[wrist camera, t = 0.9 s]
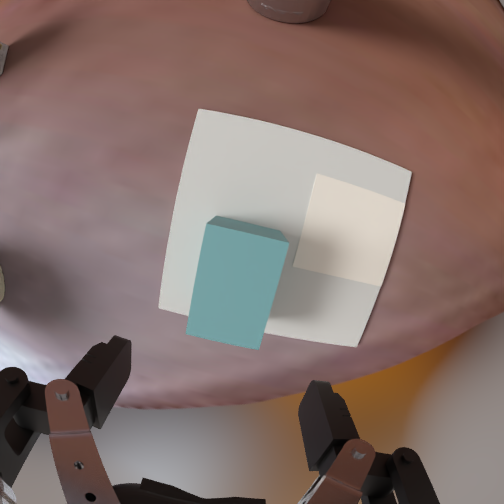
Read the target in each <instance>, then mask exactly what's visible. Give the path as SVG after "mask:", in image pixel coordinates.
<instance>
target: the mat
mask: <svg viewBox="0 0 504 504" xmlns="http://www.w3.org/2000/svg"><path fill="white" fill-rule="evenodd" d="M411 173H412V172H411V171H409V170H406V169H404V168H402V167H400V166H397V165H395V164H393V163H390V162H388V161H385V160H383V159H381V158H378V157H376V156H373V155H370V154H368V153H365V152H363V151H360V150H357V149H354V148H352V147H349V146H346V145H343V144H340V143H337V142H334V141H331V140H328V139H325V138H322V137H319V136H315V135H312V134H309V133H305V132H302V131H299V130H295V129H291V128H288V127H284V126H280V125H276V124H272V123H268V122H264V121H260V120H255V119H251V118H246V117H242V116H237V115H232V114H227V113H221V112H216V111H210V110H204V109H198V113H197V116H196V120H195V123H194V127H193V131H192V134H191V138H190V142H189V146H188V150H187V154H186V158H185V162H184V166H183V170H182V175H181V179H180V184H179V188H178V193H177V198H176V202H175V207H174V212H173V217H172V223H171V228H170V233H169V239H168V245H167V251H166V257H165V263H164V270H163V277H162V284H161V291H160V299H159V307H158V308H160V309H164V310H168V311H171V312H175V313H179V314H183V315H187V316H189V311H190V305H191V299H192V293H193V288H194V282H195V277H196V272H197V267H198V261H199V256H200V251H201V246H202V241H203V237H204V232H205V227H206V223H207V222H209V221H210V220H211V219H212V218H214V217H215V216H220V217H225V218H229V219H233V220H238V221H242V222H246V223H250V224H255V225H259V226H263V227H267V228H271V229H275V230H279V231H281V233H282V234H283V235H284V236H285V238H286V239H287V240H288V242H289V246H288V250H287V254H286V257H285V261H284V265H283V268H282V272H281V275H280V279H279V283H278V286H277V290H276V293H275V297H274V300H273V304H272V307H271V310H270V314H269V317H268V321H267V324H266V327H265V331H264V333H268V334H274V335H279V336H285V337H290V338H296V339H302V340H309V341H315V342H322V343H329V344H336V345H343V346H351V347H357V345H358V343H359V340H360V338H361V336H362V333H363V331H364V329H365V326H366V324H367V321H368V319H369V316H370V314H371V311H372V309H373V306H374V303H375V301H376V298H377V295H378V293H379V290H380V287H381V286H382V283H383V280H384V277H385V274H386V271H387V268H388V265H389V262H390V258H391V255H392V252H393V249H394V245H395V242H396V238H397V235H398V231H399V228H400V224H401V220H402V216H403V212H404V208H405V202H406V197H407V193H408V188H409V183H410V178H411Z"/></svg>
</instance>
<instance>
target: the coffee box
mask: <svg viewBox="0 0 504 504" xmlns="http://www.w3.org/2000/svg"><path fill="white" fill-rule="evenodd" d="M8 47H9V46H8V45H6V44H4V43H1V42H0V75H1V74H2V72H3V68H4V63H5V59H6V55H7V51H8Z"/></svg>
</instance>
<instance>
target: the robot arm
mask: <svg viewBox="0 0 504 504" xmlns="http://www.w3.org/2000/svg"><path fill="white" fill-rule="evenodd" d="M247 1H248V3H249V4H250V6H251V7H252V8H253V9H254V10H255V11H257V12H258V13H260V14H261V15H263V16H265V17H268V18H270V19H273V20H277V21H281V22H287V23H303V22H309V21H312V20H315V19H317V18H319V17H320V16H322V15H323V14H324V13H325V11H326V9H327V7H328V5H329V3H330V1H331V0H247ZM130 371H131V341H130V340H127V339H124V338H121V337H119V336H116V335H115V336H113V337H112V339H111V340H110V341H109V342H108V343H107V344H105V343H103V342H101V343H99V344H97V345H95V346H93V347H92V348H91V349H90V350H89V351H88V352H87V354H86V355H85V356H84V357H83V358H82V360H80V362H79V363H78V364H77V365H76V366H75V367H74V369H73V370H72V371H71V372H70V373H69V375H68V376H67V377H66V378H65V379H56V380H53V381H51V382H49V383H48V384H47V385H43V384H39V383H35V382H31V381H28V378H27V375H26V373H25V372H24V371H23V370H21V369H19V368H17V367H8V368H5V369H3V370H2V371H0V504H16V496H15V494H14V492H13V490H12V489H11V487H12V485H13V483H14V481H15V479H16V477H17V475H18V473H19V472H20V470H21V468H22V466H23V464H24V462H25V460H26V458H27V457H28V455H29V453H30V451H31V449H32V447H33V446H34V444H35V442H36V440H37V439H38V437H39V435H40V434H41V433H43V434H47V435H49V439H50V444H51V449H52V453H53V458H54V461H55V466H56V469H57V473H58V476H59V479H60V483H61V486H62V490H63V492H64V495H65V498H66V501H67V504H266V501H265V499H254V498H242V497H229V498H212V499H204V498H200V497H198V496H195V495H193V494H190V493H187V492H185V491H183V490H181V489H178V488H176V487H174V486H171V485H167V484H164V483H160V482H156V481H153V480H149V479H146V478H143V479H142V482H141V484H137V483H126V484H118V485H114V486H112V485H111V483H110V480H109V478H108V476H107V473H106V471H105V469H104V466H103V464H102V461H101V458H100V456H99V453H98V451H97V448H96V445H95V442H94V439H93V436H92V433H91V431H90V429H91V428H92V426H94V427H96V428H98V429H101V428H102V426H103V424H104V422H105V420H106V418H107V416H108V414H109V413H110V411H111V409H112V407H113V405H114V404H115V402H116V400H117V398H118V396H119V395H120V393H121V391H122V389H123V388H124V386H125V384H126V382H127V380H128V378H129V375H130ZM298 416H299V421H300V426H301V431H302V436H303V442H304V447H305V452H306V457H307V462H308V467H309V471H319V477H318V478H317V479H316V480H315V482H314V483H313V485H312V486H311V487H310V488H309V490H308V491H307V492H306V494H305V495H304V496H303V497H302V499H301V500H300V501H299V503H298V504H358V502H359V500H360V498H361V500H362V504H397V502H396V499H395V496H394V493H393V490H395V493H396V496H397V499H398V502H399V504H440V503H439V500H438V498H437V496H436V493H435V491H434V489H433V486H432V484H431V482H430V479H429V477H428V475H427V473H426V470H425V468H424V466H423V464H422V462H421V460H420V457H419V456H418V454H417V453H416V452H415V451H414V450H412V449H409V448H405V447H402V448H398V449H396V450H395V451H394V453H393V454H392V455H391V454H384V453H378V452H375V450H374V448H373V447H372V445H371V444H369V443H368V442H366V441H364V440H361V439H360V437H359V435H358V432H357V430H356V428H355V425H354V422H353V420H352V418H351V417H350V413H349V411H348V408H347V405H346V403H345V400H344V399H343V398H342V397H341V396H340V395H339V394H338V393H334V392H333V390H332V387H331V385H330V383H329V382H326V381H316V380H313V381H311V383H310V385H309V387H308V389H307V391H306V393H305V395H304V397H303V399H302V401H301V403H300V406H299V411H298Z"/></svg>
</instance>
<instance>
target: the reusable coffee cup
mask: <svg viewBox="0 0 504 504" xmlns="http://www.w3.org/2000/svg"><path fill="white" fill-rule="evenodd" d="M4 293H5V283H4V277H3V272H2V269H1V266H0V302H1V301H2V299H3V297H4Z"/></svg>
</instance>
